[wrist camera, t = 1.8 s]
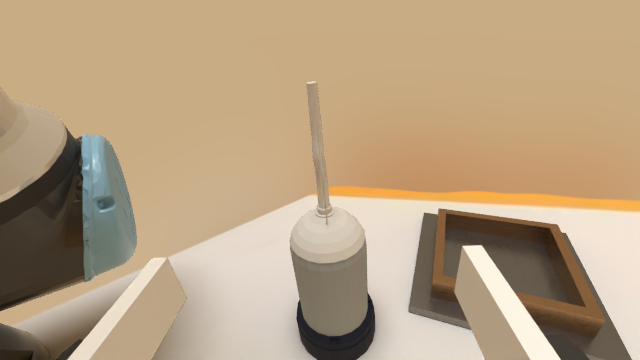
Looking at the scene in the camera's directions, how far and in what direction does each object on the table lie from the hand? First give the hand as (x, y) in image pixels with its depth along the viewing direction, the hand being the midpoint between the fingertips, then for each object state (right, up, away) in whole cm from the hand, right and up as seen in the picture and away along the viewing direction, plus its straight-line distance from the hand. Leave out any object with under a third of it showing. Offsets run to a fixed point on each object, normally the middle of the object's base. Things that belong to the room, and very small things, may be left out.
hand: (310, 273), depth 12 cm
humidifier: (+2, -12, +17) cm, 21 cm away
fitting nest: (+22, -7, +21) cm, 31 cm away
